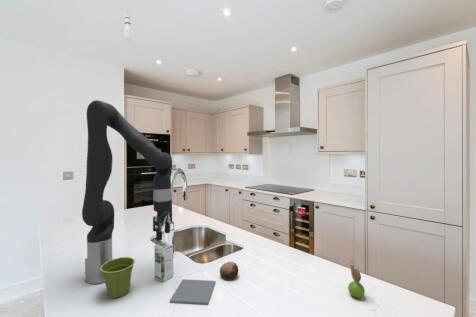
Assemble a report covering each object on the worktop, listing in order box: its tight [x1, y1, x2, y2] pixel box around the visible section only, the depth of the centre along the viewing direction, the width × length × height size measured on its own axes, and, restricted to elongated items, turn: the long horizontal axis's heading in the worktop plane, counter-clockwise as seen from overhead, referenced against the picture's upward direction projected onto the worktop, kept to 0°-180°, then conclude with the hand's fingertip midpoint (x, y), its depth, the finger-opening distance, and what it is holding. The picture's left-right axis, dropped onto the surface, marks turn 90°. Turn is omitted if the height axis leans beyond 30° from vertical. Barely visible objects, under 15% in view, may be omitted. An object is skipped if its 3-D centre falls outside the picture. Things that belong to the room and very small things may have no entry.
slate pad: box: [169, 278, 217, 306], centre depth 89 cm, size 14×14×1 cm
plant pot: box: [100, 256, 136, 299], centre depth 88 cm, size 12×12×11 cm
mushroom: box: [219, 261, 239, 281], centre depth 100 cm, size 8×8×6 cm
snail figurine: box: [347, 260, 365, 299], centre depth 86 cm, size 5×6×12 cm
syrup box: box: [154, 241, 174, 283], centre depth 99 cm, size 6×6×14 cm
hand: (163, 236), depth 99 cm, fingers open, 8 cm apart
